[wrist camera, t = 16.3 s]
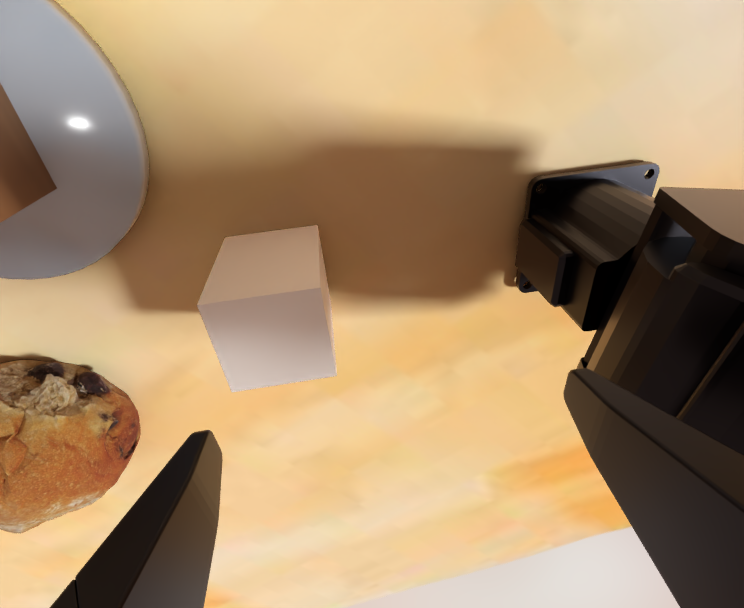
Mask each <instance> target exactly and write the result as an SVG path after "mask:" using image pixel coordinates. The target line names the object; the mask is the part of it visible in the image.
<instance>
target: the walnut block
mask: <svg viewBox="0 0 744 608" xmlns="http://www.w3.org/2000/svg"><path fill="white" fill-rule="evenodd" d="M55 189H57V187H56V185H55V183H54V182H53V180H52V178H51V176H50V174H49V172H48V170H47V168H46V167H45V165H44V163H43V161H42V159H41V157H40V155H39V154H38V152H37V150H36V148H35V146H34V144H33V142H32V141H31V139H30V137H29V135H28V133H27V131H26V129H25V128H24V126H23V124H22V122H21V120H20V118H19V116H18V114H17V113H16V111H15V109H14V107H13V105H12V103H11V101H10V100H9V98H8V96H7V94H6V92H5V90H4V88H3V87H2V85H1V83H0V223H1V222H3V221H4V220H6V219H7V218H9V217H11V216H12V215H14V214H16V213H17V212H19V211H21V210H22V209H24V208H26V207H27V206H29V205H31V204H32V203H34V202H36V201H37V200H39V199H40V198H42V197H44V196H45V195H47V194H49V193H50V192H52V191H54V190H55Z"/></svg>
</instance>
